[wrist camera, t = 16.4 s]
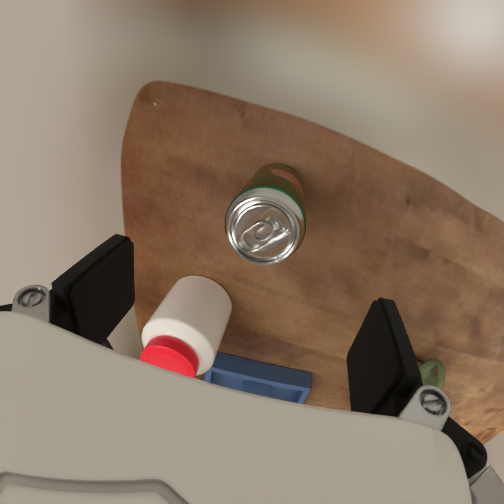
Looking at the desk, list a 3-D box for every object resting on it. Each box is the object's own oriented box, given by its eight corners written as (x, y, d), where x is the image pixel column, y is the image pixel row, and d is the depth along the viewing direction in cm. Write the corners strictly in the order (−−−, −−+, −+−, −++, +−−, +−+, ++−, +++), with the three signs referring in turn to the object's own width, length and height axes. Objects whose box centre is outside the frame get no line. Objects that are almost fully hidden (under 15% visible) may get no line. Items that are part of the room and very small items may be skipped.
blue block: (238, 395, 41) (226, 444, 33) (243, 379, 39) (230, 431, 31) (265, 401, 41) (256, 451, 33) (271, 385, 39) (263, 438, 31)
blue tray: (205, 398, 43) (200, 412, 41) (212, 350, 38) (206, 365, 36) (288, 417, 43) (287, 432, 40) (311, 372, 38) (311, 388, 35)
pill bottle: (165, 273, 34) (120, 330, 25) (229, 276, 33) (200, 342, 23) (176, 325, 38) (141, 386, 28) (234, 331, 36) (212, 399, 27)
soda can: (314, 194, 28) (323, 242, 17) (272, 223, 30) (256, 284, 19) (281, 152, 27) (269, 172, 16) (240, 183, 29) (203, 223, 18)
